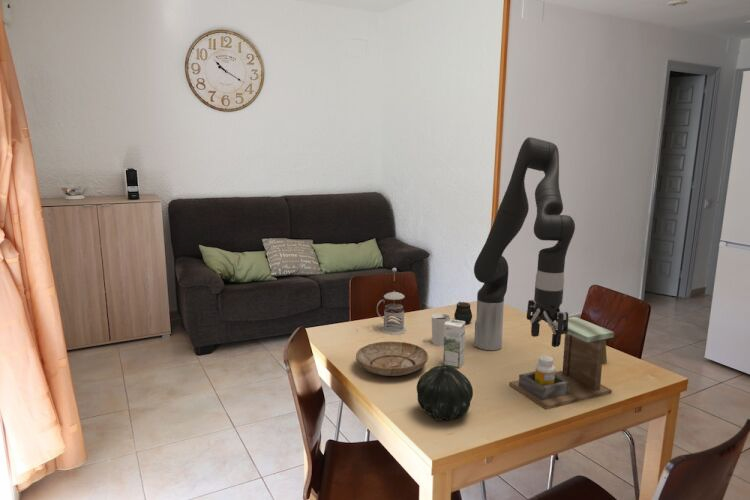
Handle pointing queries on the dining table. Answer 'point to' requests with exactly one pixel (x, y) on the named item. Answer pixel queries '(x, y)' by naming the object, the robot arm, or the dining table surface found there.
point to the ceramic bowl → (391, 358)
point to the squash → (444, 392)
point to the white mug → (438, 328)
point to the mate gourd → (463, 312)
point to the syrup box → (454, 343)
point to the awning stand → (572, 368)
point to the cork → (604, 353)
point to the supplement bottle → (545, 371)
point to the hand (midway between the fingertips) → (544, 341)
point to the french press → (393, 313)
